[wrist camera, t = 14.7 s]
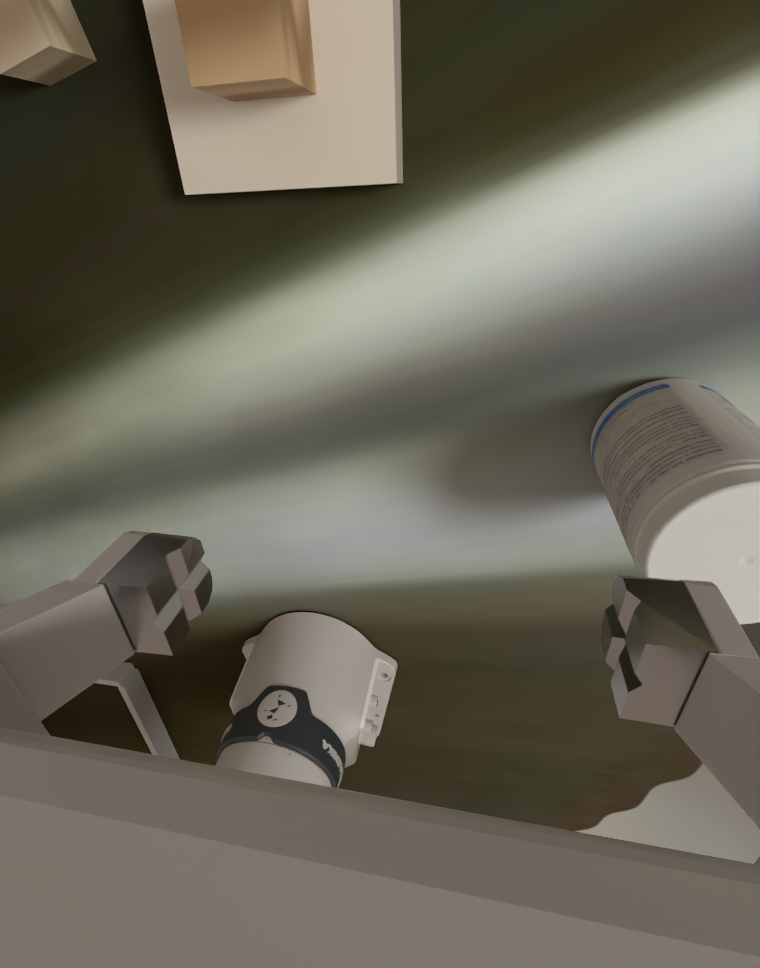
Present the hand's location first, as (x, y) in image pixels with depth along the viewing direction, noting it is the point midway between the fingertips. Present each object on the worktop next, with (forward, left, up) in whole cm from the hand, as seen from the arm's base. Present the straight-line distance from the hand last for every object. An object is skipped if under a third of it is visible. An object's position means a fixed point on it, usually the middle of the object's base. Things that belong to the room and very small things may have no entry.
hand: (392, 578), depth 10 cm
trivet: (+14, +11, -29) cm, 34 cm away
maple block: (+16, +26, -29) cm, 42 cm away
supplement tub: (-10, -15, -29) cm, 34 cm away
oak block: (+14, +11, -27) cm, 32 cm away
